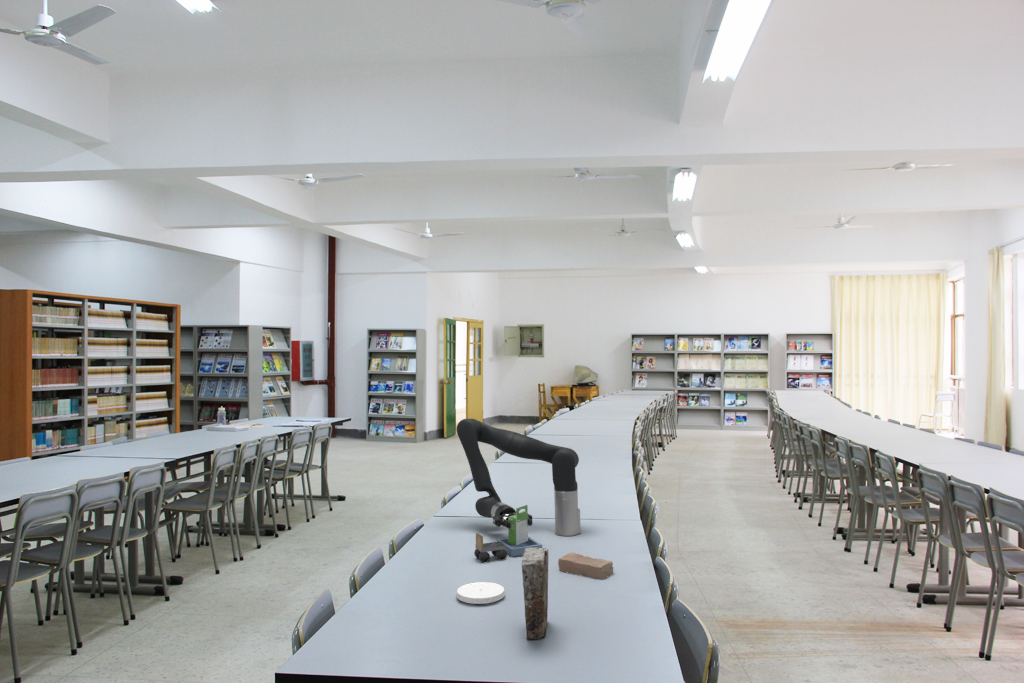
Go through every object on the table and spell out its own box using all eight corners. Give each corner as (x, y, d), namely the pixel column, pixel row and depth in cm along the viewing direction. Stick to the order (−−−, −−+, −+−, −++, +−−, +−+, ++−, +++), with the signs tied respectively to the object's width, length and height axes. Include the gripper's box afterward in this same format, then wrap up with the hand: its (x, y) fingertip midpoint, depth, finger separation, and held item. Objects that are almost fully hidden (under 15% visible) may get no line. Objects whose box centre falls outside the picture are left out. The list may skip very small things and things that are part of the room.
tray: (526, 543, 260) (526, 535, 260) (542, 553, 247) (542, 544, 247) (496, 547, 255) (496, 539, 255) (511, 557, 242) (511, 549, 242)
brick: (614, 573, 223) (614, 559, 224) (601, 581, 217) (601, 566, 217) (570, 565, 233) (570, 551, 233) (557, 572, 227) (557, 557, 227)
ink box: (520, 539, 255) (519, 503, 255) (528, 541, 252) (528, 504, 252) (508, 543, 250) (507, 506, 250) (516, 545, 247) (516, 508, 247)
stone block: (523, 620, 186) (522, 545, 186) (549, 620, 185) (548, 545, 186) (523, 641, 172) (521, 560, 173) (551, 640, 172) (549, 560, 172)
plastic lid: (487, 610, 194) (487, 601, 194) (447, 602, 201) (447, 593, 201) (513, 595, 206) (513, 586, 206) (475, 587, 213) (474, 579, 213)
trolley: (500, 554, 246) (500, 529, 246) (507, 559, 240) (506, 533, 241) (474, 558, 242) (473, 533, 242) (480, 563, 237) (479, 537, 237)
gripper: (486, 506, 262) (501, 516, 247) (520, 502, 267) (538, 512, 252) (486, 526, 262) (502, 537, 247) (520, 522, 267) (538, 532, 252)
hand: (520, 524), depth 249 cm, fingers closed on ink box, 8 cm apart
